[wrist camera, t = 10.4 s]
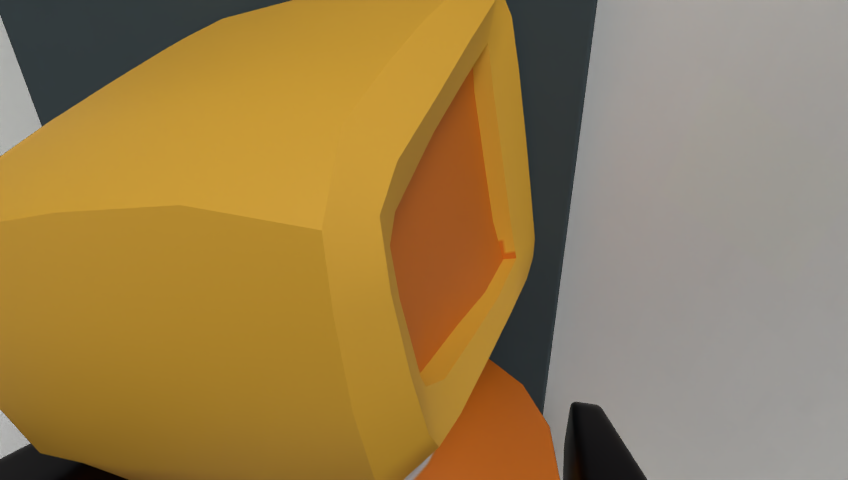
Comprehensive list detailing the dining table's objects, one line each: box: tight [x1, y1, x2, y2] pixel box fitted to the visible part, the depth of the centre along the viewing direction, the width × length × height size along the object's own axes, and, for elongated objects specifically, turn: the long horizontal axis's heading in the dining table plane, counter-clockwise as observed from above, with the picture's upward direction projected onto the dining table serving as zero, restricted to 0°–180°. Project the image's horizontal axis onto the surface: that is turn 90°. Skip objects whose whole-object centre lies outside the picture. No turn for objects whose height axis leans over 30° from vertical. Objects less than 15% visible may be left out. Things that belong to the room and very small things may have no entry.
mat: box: [0, 0, 597, 416], centre depth 9 cm, size 9×22×1 cm, turn 1°
